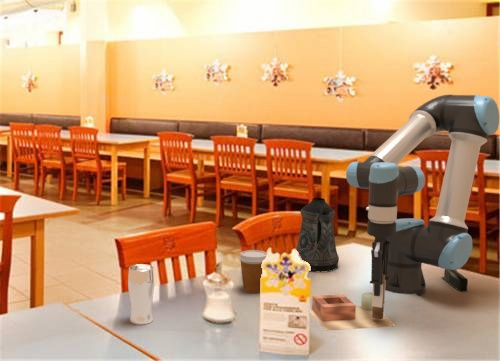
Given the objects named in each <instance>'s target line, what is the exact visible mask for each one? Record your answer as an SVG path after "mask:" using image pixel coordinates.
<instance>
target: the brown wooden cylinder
mask: <svg viewBox="0 0 500 361" xmlns="http://www.w3.org/2000/svg"><path fill="white" fill-rule="evenodd" d="M382 282H383V303H382V308H381V307H374V306H373V307H372V317H373V318H374V319H383V315H384V306H385V303H384V291H385V292H386V290H385V275H384V274H383V281H382Z"/></svg>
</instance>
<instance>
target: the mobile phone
mask: <svg viewBox="0 0 500 361" xmlns="http://www.w3.org/2000/svg"><path fill="white" fill-rule="evenodd" d="M443 270H444V272H443V275H441V277H442V278H441V279H443V278H444V279H445V280H444V279H443V280H444V281H445V282H446V283H448V284H449V283H450V286H452V287H453V286H454V287H455V288H457V289H458V290H460V291H459V292H463V291H466V292H468V282H469V280H468V278H467V277H465V276H464V275H463V274H461V273H460V272H459V271H457V270H450V269H443ZM454 287H453V288H454ZM455 288H454V289H455ZM457 289H456V290H457ZM458 290H457V291H458Z"/></svg>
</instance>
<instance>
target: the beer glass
mask: <svg viewBox="0 0 500 361" xmlns="http://www.w3.org/2000/svg"><path fill="white" fill-rule="evenodd" d="M154 270H155V269H154V266H153V265H151V264H144V263H142V264H138V263H137V264H133V265H131V266H129V267H128V276H127V279H128V280H127V283H128V284H127V285H128V286H127V287H128V295H129V300H130V305H131V311H130V312H131V313H130V318H129V322H130V323H131V324H133V325H141V326H142V325H149V324H151V323H152V322H153V320H154V319H153V318H154V317H153V315H152V314H153V313H152V302H153V298H154V291H155V273H154V272H155V271H154Z"/></svg>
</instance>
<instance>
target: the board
mask: <svg viewBox="0 0 500 361" xmlns="http://www.w3.org/2000/svg"><path fill="white" fill-rule="evenodd" d="M311 304H312V305H311V306H312V307H311V308H309V309H310V312H309V313H310V314H311V316H312V317H313V318H314V319H315V320H316V321H317V322H318V323H319V325H320V326H321V327H322V328H323V329H324V331H338V330H340V331H341V330H342V331H343V330H355V329H369V328H370V329H371V328H386V327H396V326H397V325H396V324H395V323H394V322H393V321H391V320H390V319H389V318H387V317H386V316H385V315H384V314H383V319H374V318H373V317H372V311H366V310H363V309H361V305H360V306H357V304H355V303H354V302H353V301H352V300H351V299H349V298H348V297H347V296H346V295H345V294H329V295H326V294H325V295H312V300H311Z"/></svg>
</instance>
